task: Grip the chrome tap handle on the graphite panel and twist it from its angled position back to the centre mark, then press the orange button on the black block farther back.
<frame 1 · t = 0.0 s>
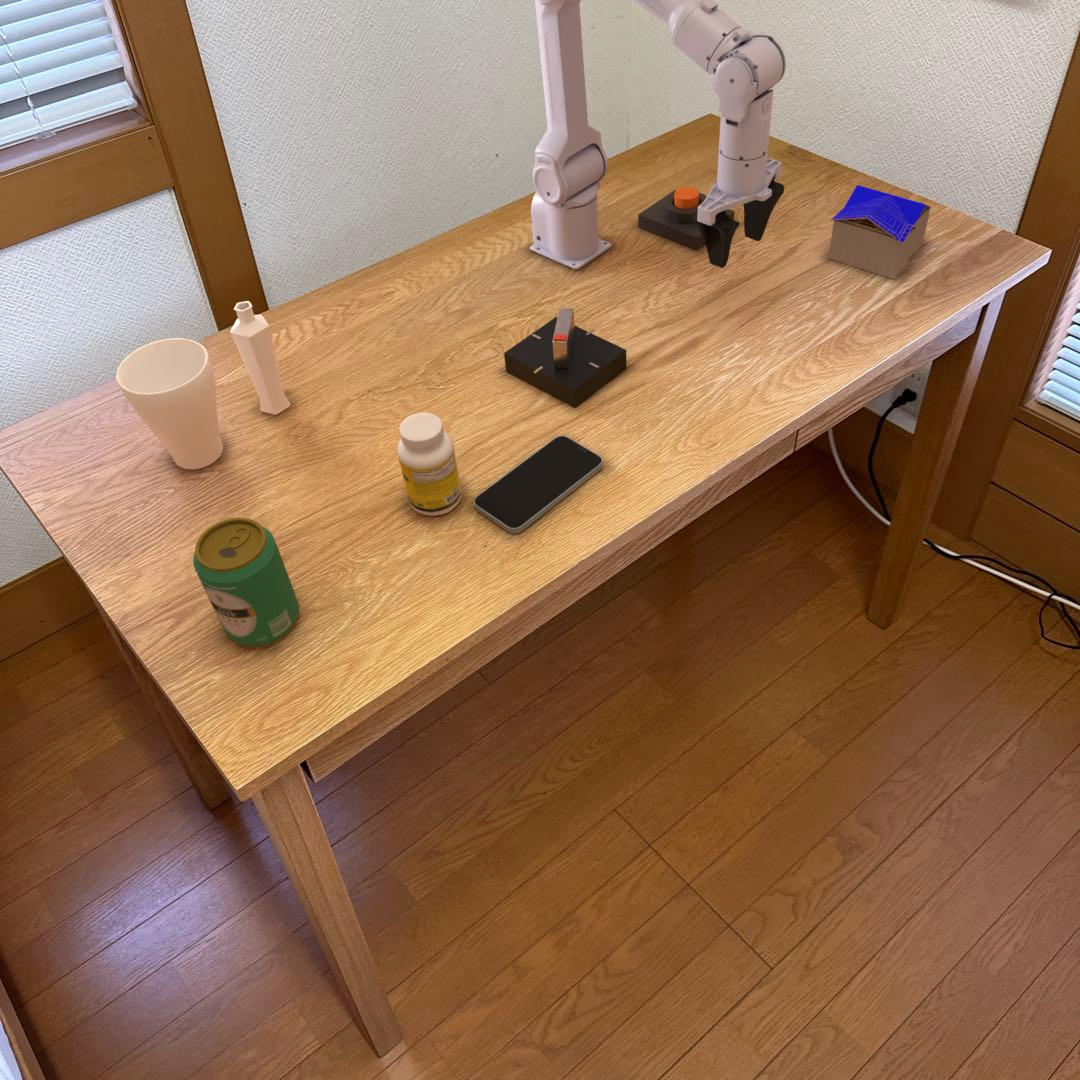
hand: (735, 251, 133), 10 cm above the table, tool pointing down, fingers open, 7 cm apart
smartphone: (539, 486, 120), on the table
tap handle: (563, 337, 131), point 5 cm above the table, hinge at -55.0°
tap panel: (566, 370, 135), on the table
button: (686, 198, 153), point 4 cm above the table, slide at 0.1 cm
pill bottle: (435, 500, 120), on the table
perfume bottle: (276, 405, 134), on the table
cup: (199, 454, 129), on the table
house: (875, 253, 148), on the table
beverage can: (263, 621, 110), on the table
button block: (685, 226, 157), on the table
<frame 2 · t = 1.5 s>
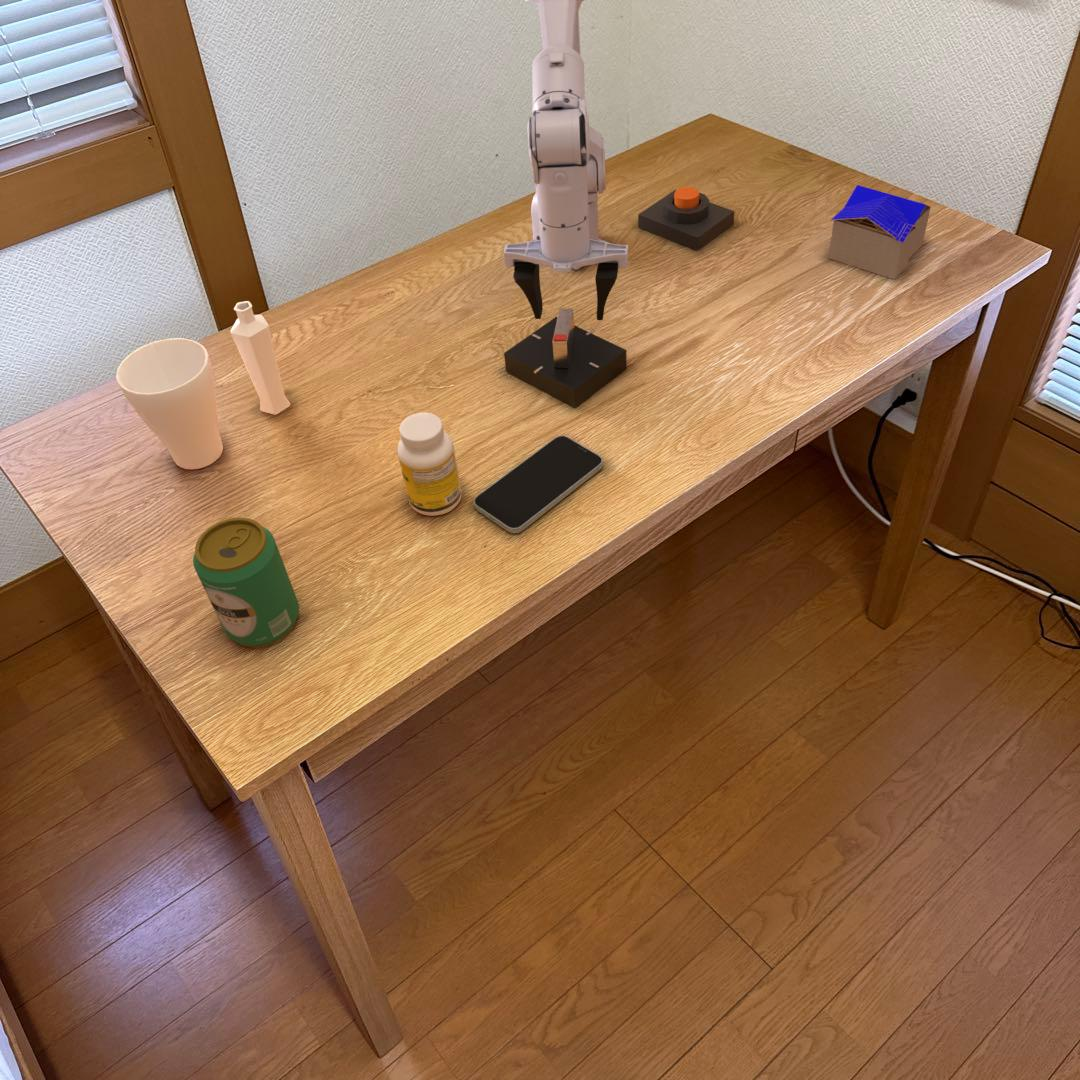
hand: (569, 315, 129), 8 cm above the table, tool pointing down, fingers open, 7 cm apart
nothing on the table moved.
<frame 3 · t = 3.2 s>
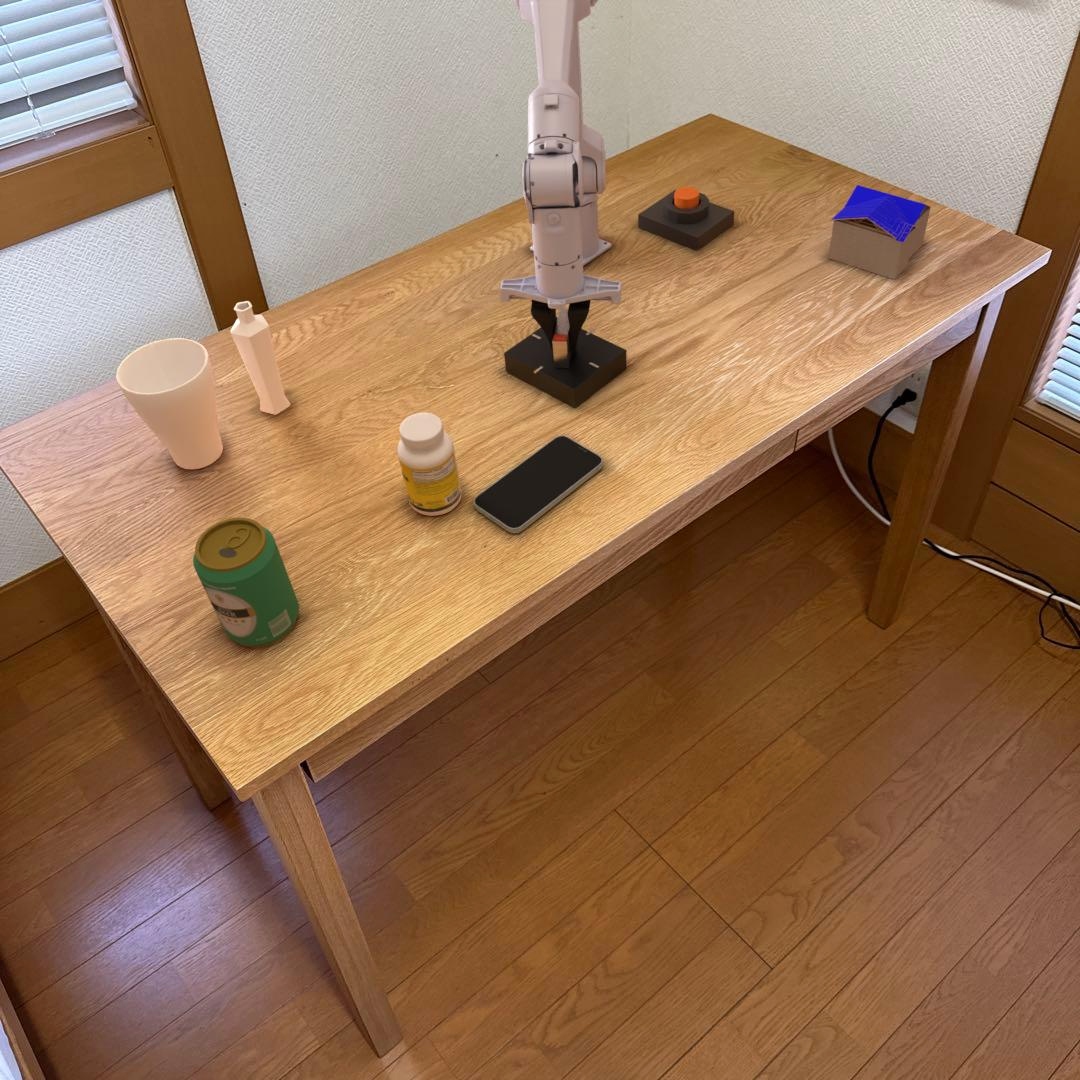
hand: (564, 347, 132), 4 cm above the table, tool pointing down, fingers closed on tap handle, 2 cm apart
tap handle: (563, 337, 131), point 5 cm above the table, hinge at -55.1°, touching gripper
everything else where it was.
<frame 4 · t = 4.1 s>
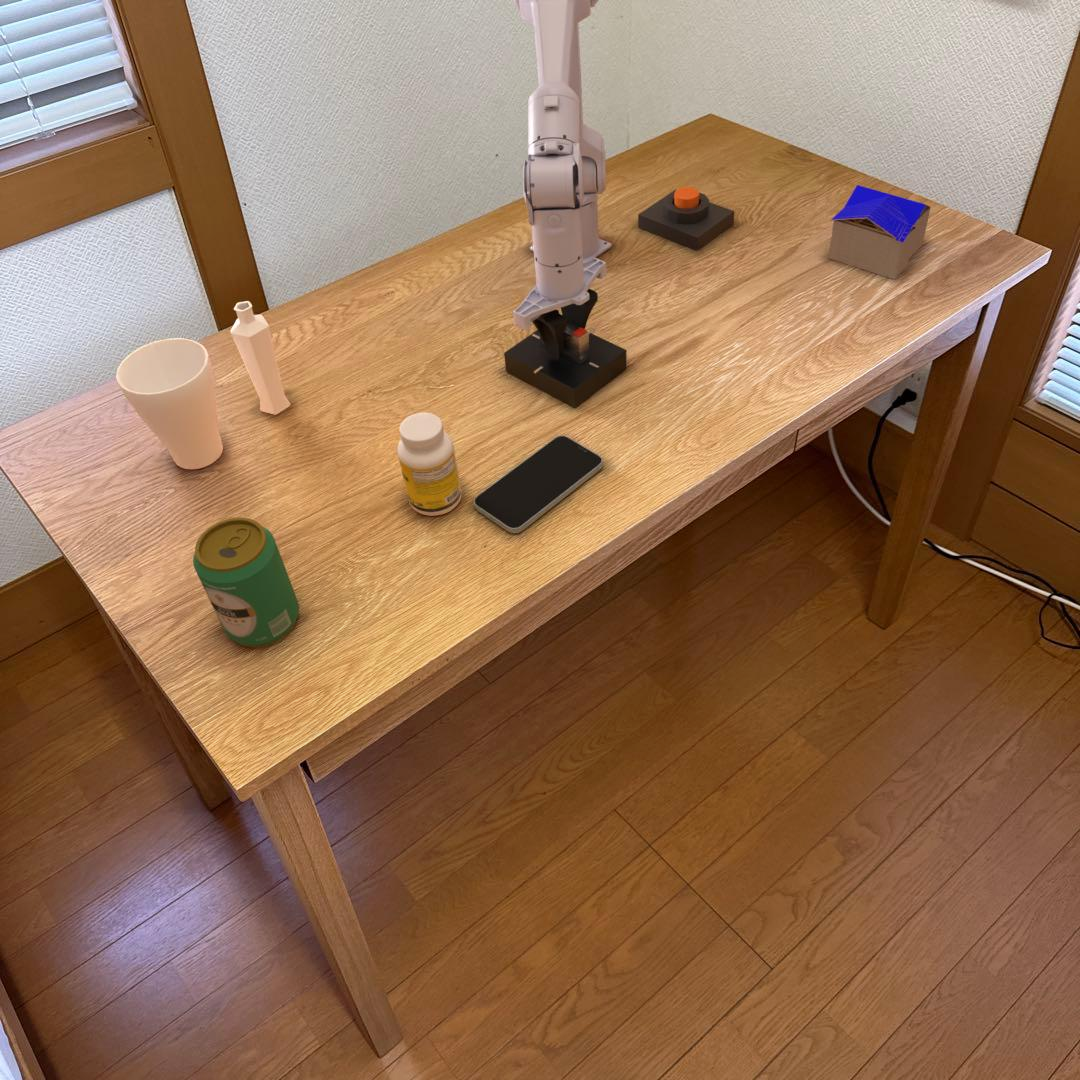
hand: (564, 348, 132), 3 cm above the table, tool pointing down, fingers open, 3 cm apart
tap handle: (563, 337, 131), point 5 cm above the table, hinge at -0.7°
everything else where it was.
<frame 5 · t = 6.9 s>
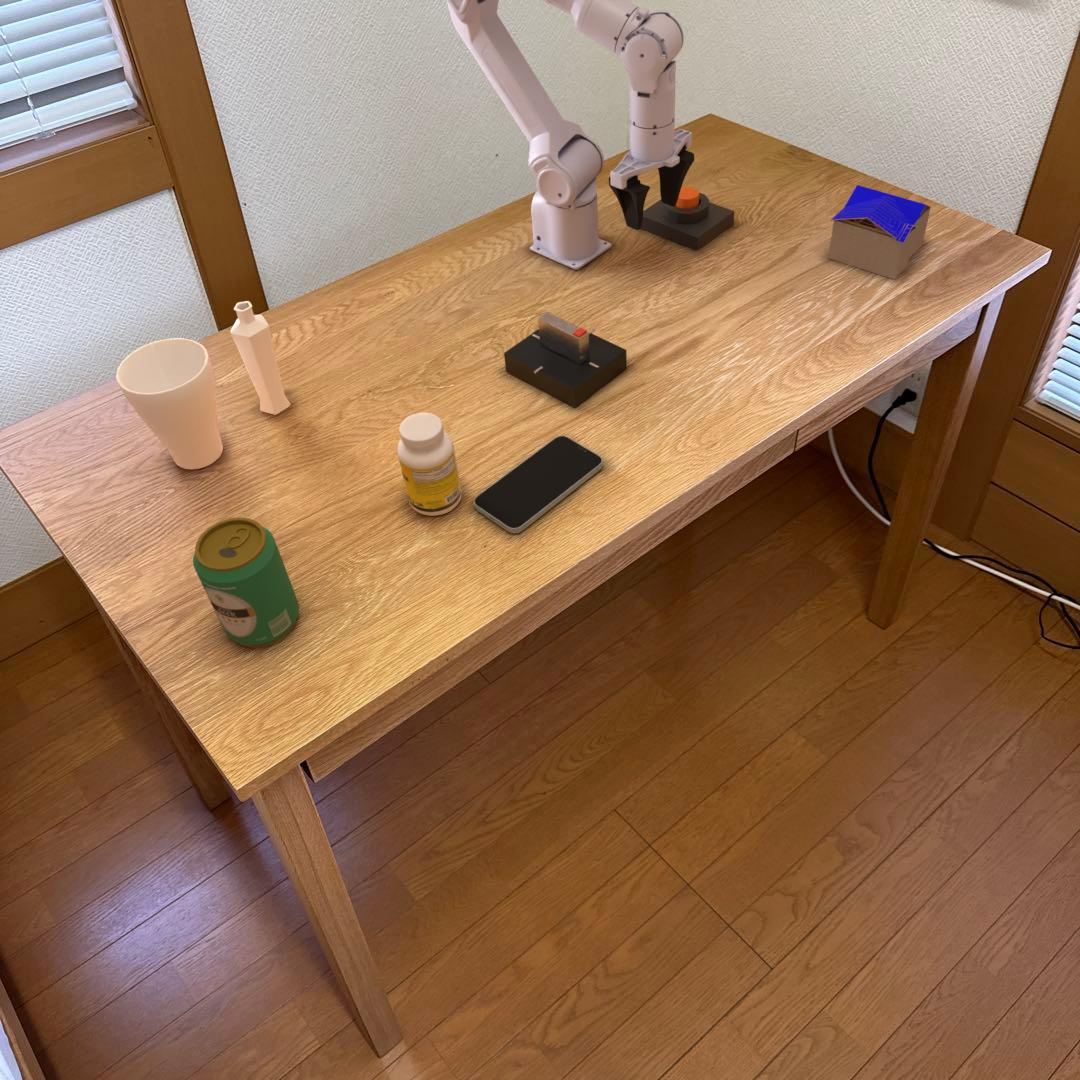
hand: (651, 215, 144), 8 cm above the table, tool pointing down, fingers open, 7 cm apart
nothing on the table moved.
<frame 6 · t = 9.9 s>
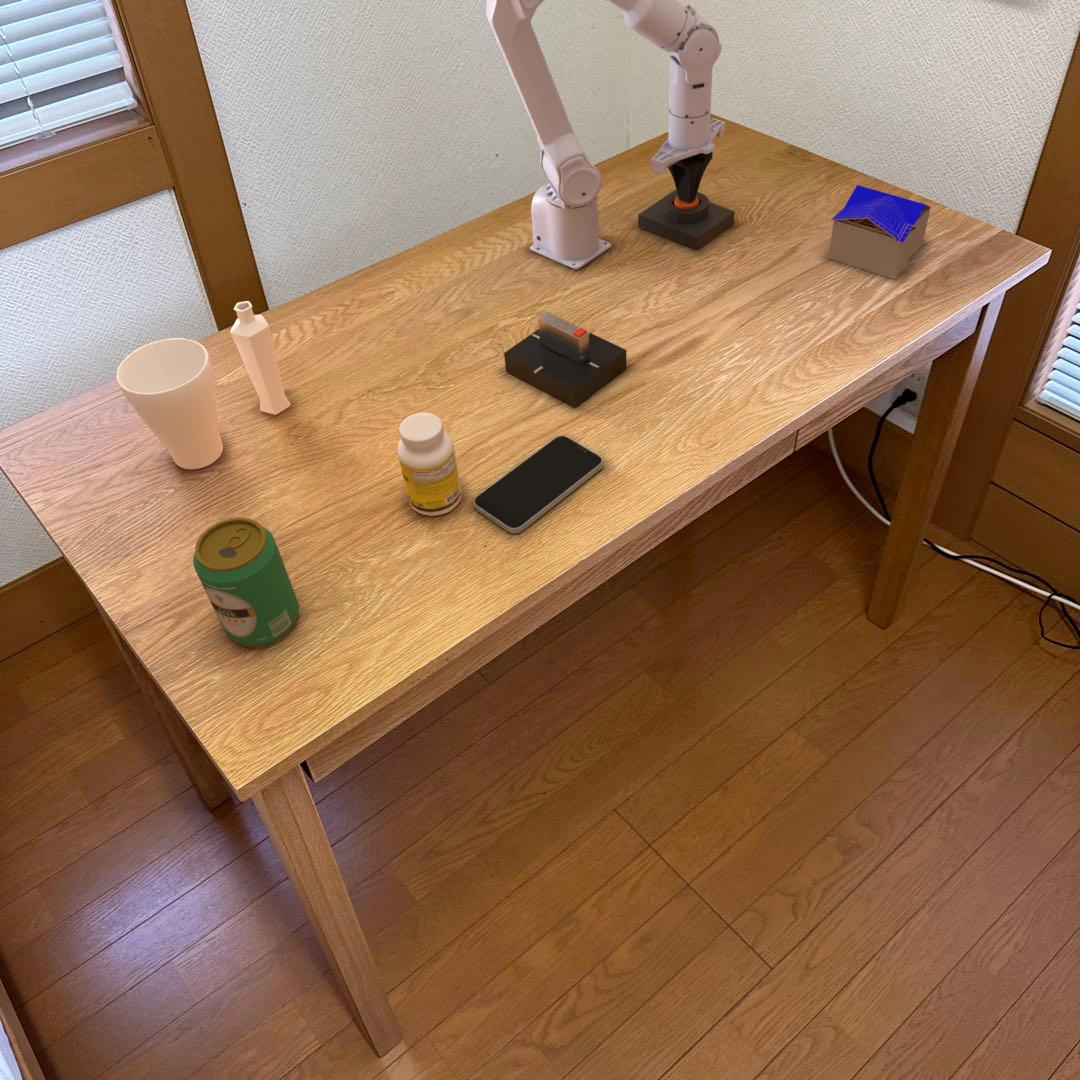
hand: (686, 199, 153), 4 cm above the table, tool pointing down, fingers closed, pressing on button
button: (686, 205, 154), point 3 cm above the table, slide at -1.0 cm, touching gripper
everything else where it was.
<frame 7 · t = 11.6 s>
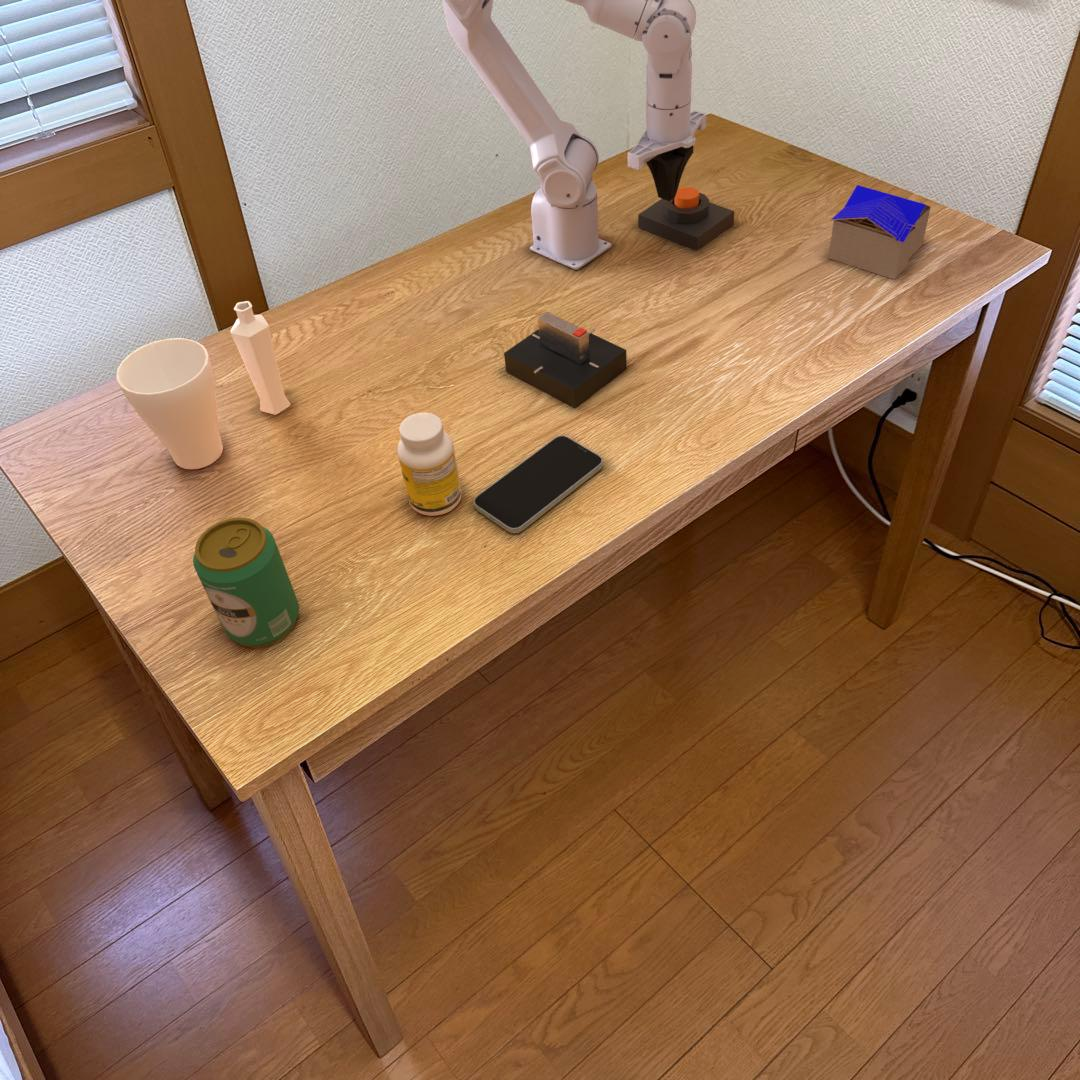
hand: (666, 197, 144), 9 cm above the table, tool pointing down, fingers closed
button: (686, 198, 153), point 4 cm above the table, slide at 0.1 cm
everything else where it was.
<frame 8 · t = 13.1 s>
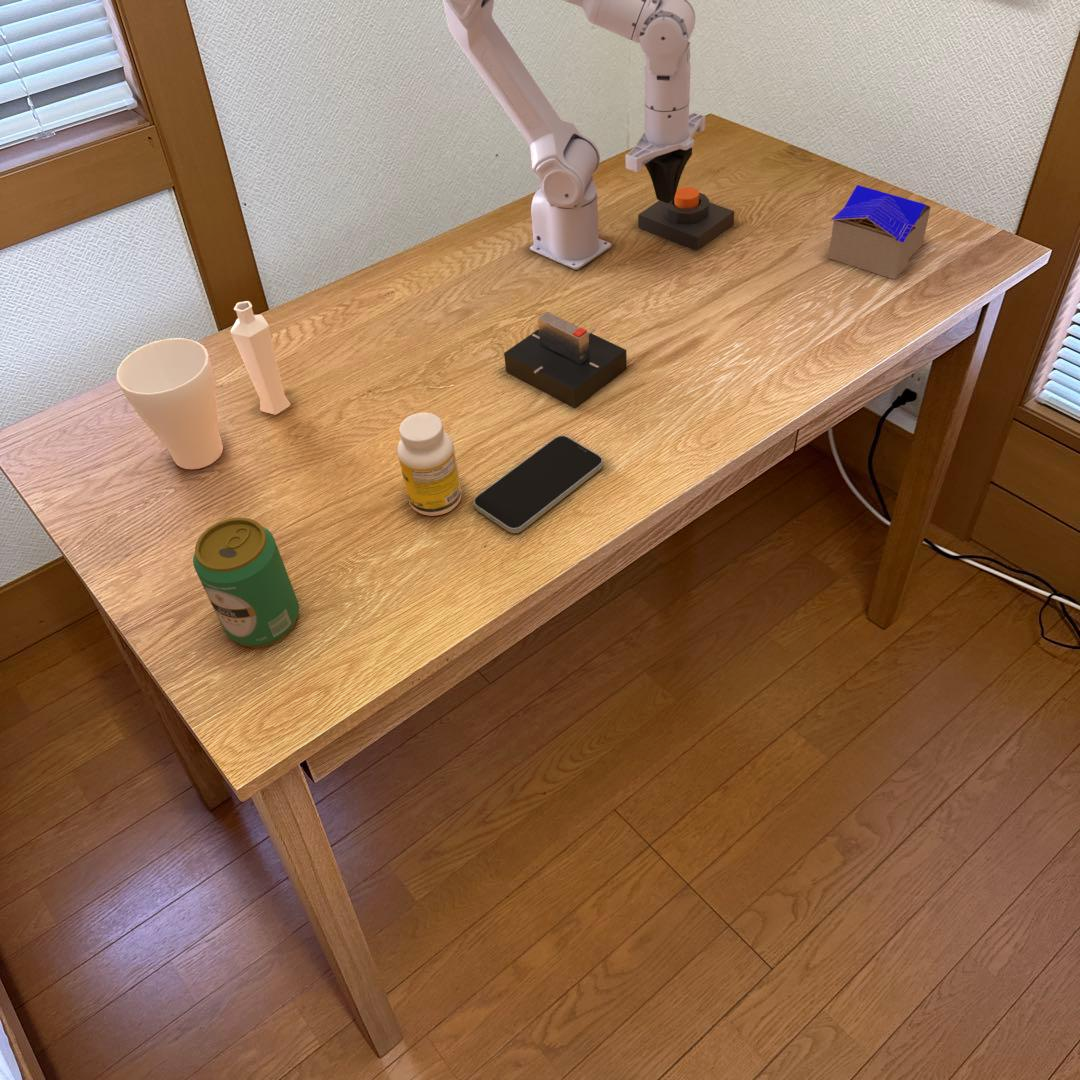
hand: (665, 199, 144), 9 cm above the table, tool pointing down, fingers closed
nothing on the table moved.
at the end: tap handle at -1° (first picture: -55°); button pushed in 1.3 cm at the most during the clip, back to where it started at the end; button slide at 0.1 cm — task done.
